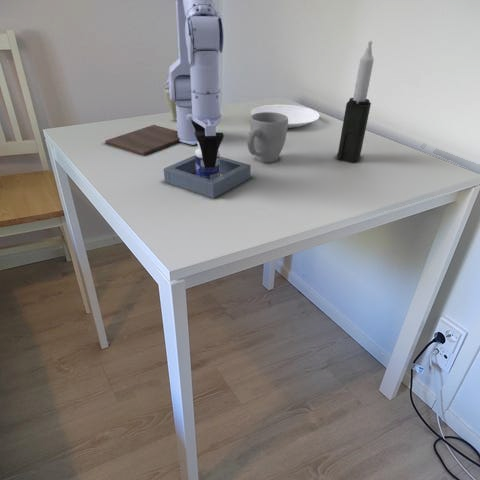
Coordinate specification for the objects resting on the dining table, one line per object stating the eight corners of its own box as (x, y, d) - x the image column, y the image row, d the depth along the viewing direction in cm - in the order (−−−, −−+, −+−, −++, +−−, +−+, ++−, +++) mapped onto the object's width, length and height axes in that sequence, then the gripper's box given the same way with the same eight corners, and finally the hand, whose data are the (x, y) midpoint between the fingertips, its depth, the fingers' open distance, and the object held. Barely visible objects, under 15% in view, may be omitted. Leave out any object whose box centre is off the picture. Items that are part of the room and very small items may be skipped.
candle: (360, 156, 108) (384, 40, 92) (356, 163, 105) (380, 43, 89) (341, 153, 110) (361, 38, 94) (336, 159, 106) (356, 41, 90)
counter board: (154, 127, 123) (153, 124, 122) (191, 137, 117) (190, 134, 116) (105, 143, 111) (105, 140, 111) (143, 155, 105) (143, 152, 105)
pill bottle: (196, 175, 97) (194, 134, 91) (219, 175, 97) (218, 134, 91) (196, 185, 93) (194, 143, 87) (220, 184, 93) (220, 142, 87)
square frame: (203, 164, 102) (203, 151, 100) (250, 178, 96) (250, 164, 94) (164, 182, 93) (163, 168, 91) (213, 198, 88) (213, 184, 86)
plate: (246, 112, 137) (246, 104, 136) (309, 111, 139) (310, 104, 138) (255, 132, 122) (255, 123, 120) (326, 131, 124) (327, 123, 122)
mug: (263, 149, 110) (265, 109, 104) (291, 158, 106) (295, 117, 100) (233, 162, 103) (234, 120, 97) (262, 171, 99) (265, 128, 93)
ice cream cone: (180, 123, 126) (176, 65, 116) (164, 122, 127) (159, 64, 117) (185, 118, 130) (182, 62, 120) (169, 117, 131) (165, 61, 121)
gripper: (182, 82, 88) (186, 149, 97) (188, 100, 77) (191, 174, 86) (216, 82, 89) (217, 148, 98) (226, 99, 78) (226, 172, 87)
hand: (207, 160), depth 92 cm, fingers open, 7 cm apart
